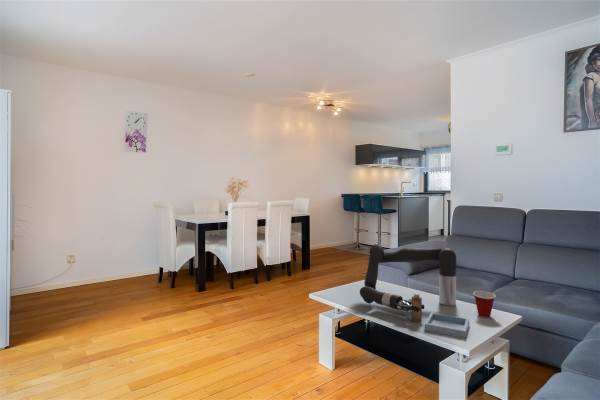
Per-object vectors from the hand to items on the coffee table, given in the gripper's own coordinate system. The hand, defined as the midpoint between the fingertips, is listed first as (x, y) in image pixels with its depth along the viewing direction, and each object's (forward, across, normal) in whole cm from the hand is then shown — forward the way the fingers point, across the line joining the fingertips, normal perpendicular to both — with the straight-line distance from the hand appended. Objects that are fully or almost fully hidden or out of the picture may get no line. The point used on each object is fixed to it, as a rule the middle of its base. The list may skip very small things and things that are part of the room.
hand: (421, 308), depth 174 cm
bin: (+12, -2, -7) cm, 14 cm away
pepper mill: (-3, 0, -7) cm, 7 cm away
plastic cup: (+20, -33, -7) cm, 39 cm away
